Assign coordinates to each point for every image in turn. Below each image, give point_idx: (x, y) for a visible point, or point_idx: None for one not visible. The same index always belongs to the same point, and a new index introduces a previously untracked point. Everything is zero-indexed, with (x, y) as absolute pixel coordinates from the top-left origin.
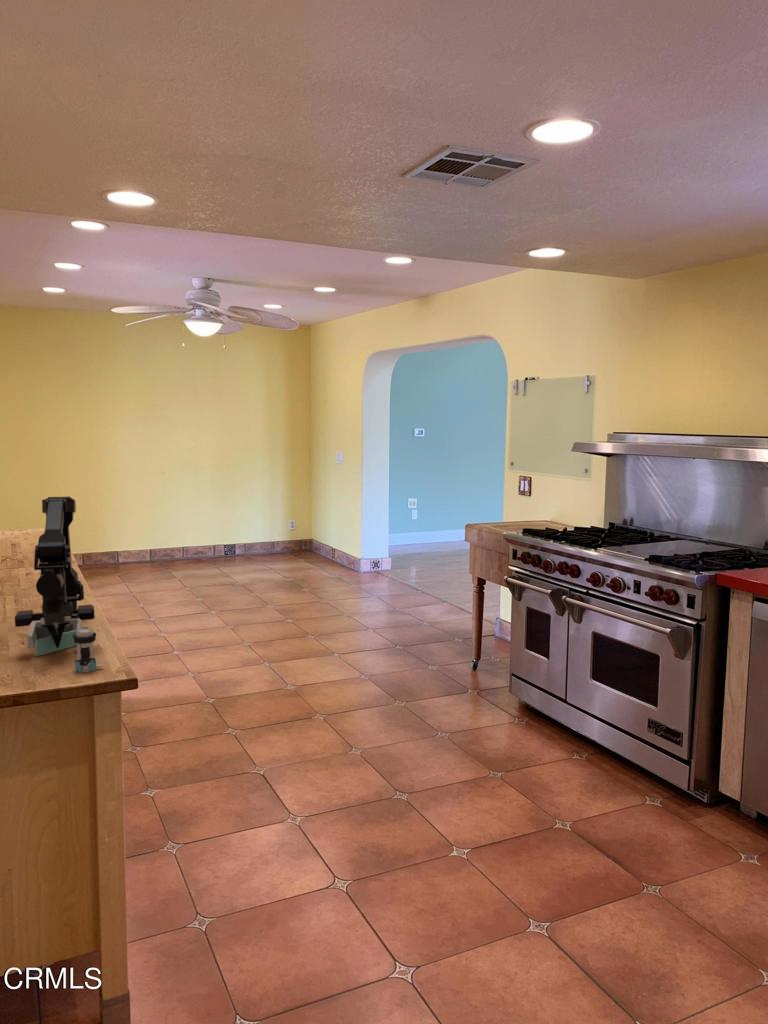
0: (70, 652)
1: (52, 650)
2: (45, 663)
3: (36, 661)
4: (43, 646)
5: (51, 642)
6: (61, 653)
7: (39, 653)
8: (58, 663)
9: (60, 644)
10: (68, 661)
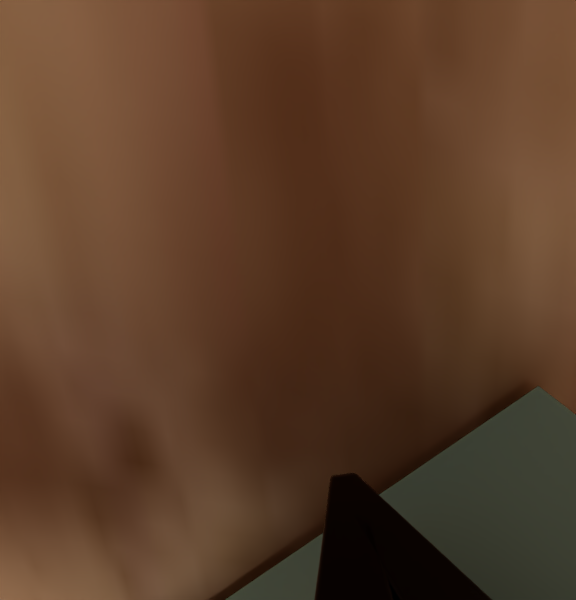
0: (200, 467)
1: (392, 499)
2: (456, 99)
3: (551, 219)
4: (527, 496)
5: None
6: (292, 450)
7: (529, 412)
8: (290, 43)
9: None
10: (162, 106)
